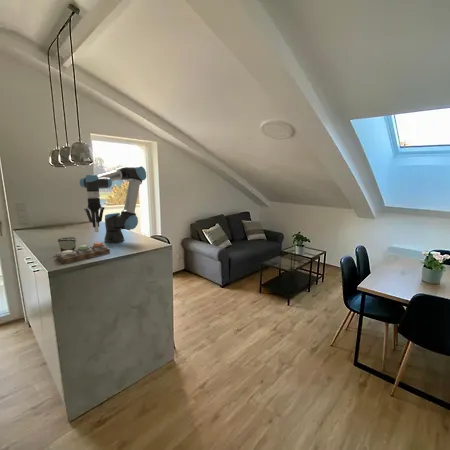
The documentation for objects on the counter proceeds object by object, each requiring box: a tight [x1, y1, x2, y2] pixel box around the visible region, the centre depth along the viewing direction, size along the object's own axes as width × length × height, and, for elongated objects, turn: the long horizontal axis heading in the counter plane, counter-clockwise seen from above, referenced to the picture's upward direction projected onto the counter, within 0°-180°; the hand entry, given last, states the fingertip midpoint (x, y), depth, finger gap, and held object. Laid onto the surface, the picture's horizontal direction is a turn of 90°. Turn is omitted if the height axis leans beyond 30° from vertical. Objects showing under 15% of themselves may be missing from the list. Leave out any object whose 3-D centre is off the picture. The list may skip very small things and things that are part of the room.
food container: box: [57, 236, 77, 252], centre depth 188 cm, size 12×6×10 cm, turn 92°
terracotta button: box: [92, 241, 104, 248], centre depth 185 cm, size 6×6×2 cm
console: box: [55, 244, 111, 265], centre depth 178 cm, size 29×14×5 cm, turn 139°
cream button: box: [62, 250, 72, 255], centre depth 170 cm, size 6×6×2 cm
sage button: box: [77, 244, 89, 251], centre depth 178 cm, size 6×6×2 cm
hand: (96, 231), depth 183 cm, fingers closed
